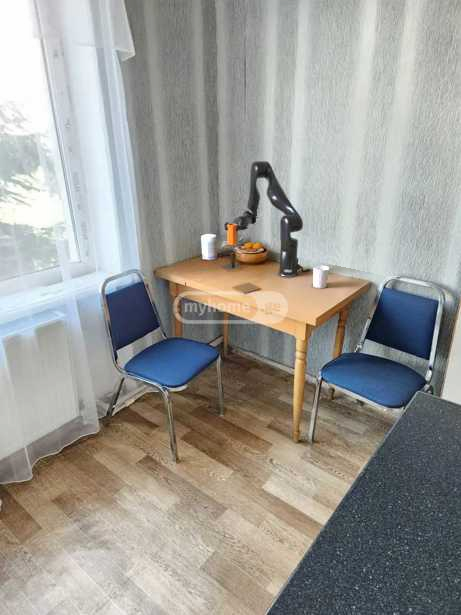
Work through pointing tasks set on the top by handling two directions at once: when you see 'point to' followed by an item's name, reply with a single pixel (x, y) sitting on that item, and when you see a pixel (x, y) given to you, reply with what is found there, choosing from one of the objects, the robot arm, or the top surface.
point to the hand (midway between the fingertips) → (230, 228)
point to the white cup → (320, 276)
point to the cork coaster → (246, 288)
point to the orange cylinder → (232, 234)
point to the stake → (232, 262)
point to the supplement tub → (209, 246)
